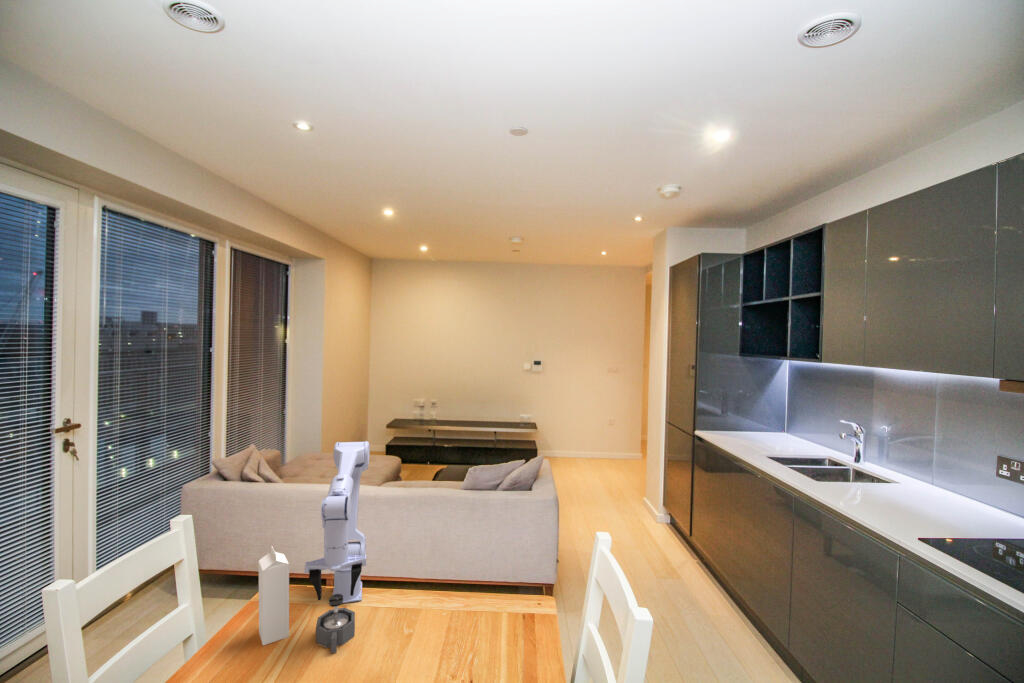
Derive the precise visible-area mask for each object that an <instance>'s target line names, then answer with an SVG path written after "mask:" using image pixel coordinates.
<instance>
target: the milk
mask: <svg viewBox="0 0 1024 683" xmlns="http://www.w3.org/2000/svg"><path fill="white" fill-rule="evenodd" d="M270 546H271V548H270V550H271V551H269V552H268V553H267V554H266V555H264V556H263V557H261V558H260V559H259V560H258V634H259V638H260V641H261V644H262V646H263V647H264V646H266V645H269V644H271V643H272V644H273V643H275V642H278V641H280V640H284V639H286V638H288V637H290V563H289V561H288V559H287V557H286V556H285V554H284V553H280V552H278V551H276V550H274V547H273V545H270Z"/></svg>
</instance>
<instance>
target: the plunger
mask: <svg viewBox="0 0 1024 683" xmlns="http://www.w3.org/2000/svg"><path fill="white" fill-rule="evenodd" d="M342 604H344V603H343V595H341V594H335V595H333V594H332V595H331V596H330V597H329V598H328V605H329V606H330V607H333V609H334V614H332V615H330V616H328V617H327V618H326V619H325V620H324V622H323V627H324V628H326V629H328V630H330V629H336V628H342V627H343V626H344V625H346V624H347V623H348V616H347V615H346V614H343V613H338V609H339V606H341V605H342Z"/></svg>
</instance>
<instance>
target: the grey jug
mask: <svg viewBox="0 0 1024 683" xmlns="http://www.w3.org/2000/svg"><path fill="white" fill-rule="evenodd" d="M338 613H343V614H346V615H347V616H348V623H347V624H346V625H344V626H343V627H342V628H336V629H330V630H328V629H326V628H324V627H323V622H324V620H325V619H326V618H327V617H328V616H330V615H332V614H334V608H333V609H329V610H327V611H325V612H324V613H322V614H321V615H320V616H318V617H317V619H316V627H315V644H318V645H319V646H322V647H324V648H326V649H327V648H328V649H329V648H330V653H331V654H334V653H337V652H338V647H340V646H344V645H345V644H346V643H347V642H349V641H350V640H351V639H353V638H354V637H355V629H356V624H355V623H356V622H355V621H356V612H355V611H353V610H351V609H348V607H347V608H346V607H341V608H339V607H338Z"/></svg>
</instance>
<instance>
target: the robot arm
mask: <svg viewBox="0 0 1024 683" xmlns="http://www.w3.org/2000/svg"><path fill="white" fill-rule="evenodd" d="M370 446H371V444H370V443H369V441H368V440H365V441H346V442H344V441H343V442H342V441H337V442H336V443H335V444H334V447H333V451H332V452H333V454H332V455H333V456H332V457H333V462H334V464H335V465H334V466H335V467H336V470H337V475H335V476H333V478H332V479H331V483H330V485H329V489H328V492H327V496H326V498H323V499H322V502H321V507H320V510H321V511H320V515H321V516H320V517H321V521H322V529H323V557H322V558H319V559H315V560H314V559H313V560H310V561H306V562H305V564H304V574H308V580H309V581H310V583H311V584H312V586H313V588H314V590H315V594H316V597H317V601H321V600H322V593H323V590H322V589H323V588H322V571H325V570H329V571H330V572H334V573H333V574H334V575H333V579H334V580H333V583H334V584H333V585H334V586H333V592H332V595H335V594H341V595H343V603H342V604H347V603H355V602H360V601H362V599H363V596H362V595H363V581H361V579H362V578H361V577H362V576H361V574H362V568H363V567H367V538H366V535H365V534H364V533H363V532H362V531H361V530H359V529H358V516H359V502H360V486H361V484H360V483H361V477H362V474H363V472H364V471H366V470H369V464H370V455H371V454H370V450H371V449H370ZM360 589H361V590H360Z"/></svg>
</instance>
